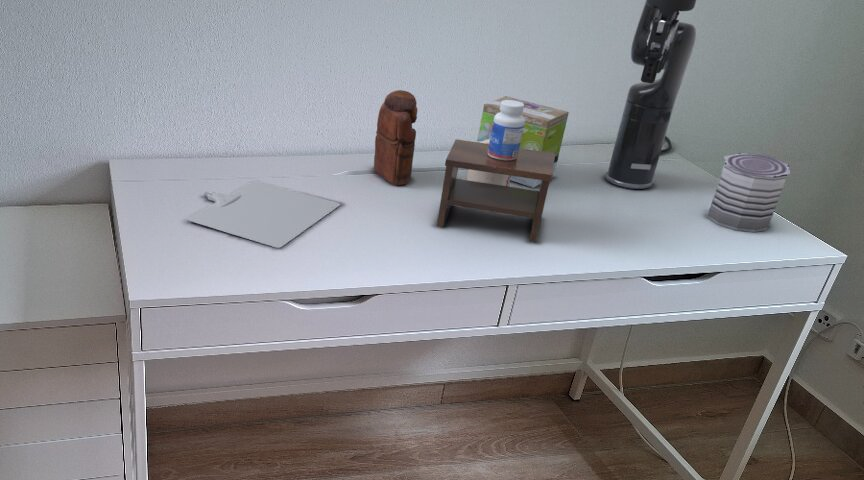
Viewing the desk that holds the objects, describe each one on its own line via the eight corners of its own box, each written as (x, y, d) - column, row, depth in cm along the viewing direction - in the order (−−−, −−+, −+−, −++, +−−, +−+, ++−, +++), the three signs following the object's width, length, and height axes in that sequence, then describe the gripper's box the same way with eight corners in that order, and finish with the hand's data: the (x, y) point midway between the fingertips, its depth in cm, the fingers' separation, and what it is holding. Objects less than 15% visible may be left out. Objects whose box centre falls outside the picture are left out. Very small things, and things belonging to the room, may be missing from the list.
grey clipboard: (238, 178, 178) (238, 173, 177) (341, 207, 169) (341, 201, 168) (167, 217, 159) (167, 211, 158) (278, 251, 150) (279, 245, 149)
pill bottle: (483, 151, 159) (492, 98, 154) (511, 151, 160) (522, 98, 155) (492, 161, 154) (502, 106, 149) (521, 161, 155) (532, 107, 150)
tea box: (470, 170, 189) (482, 102, 181) (492, 160, 195) (504, 94, 188) (534, 189, 180) (549, 119, 173) (555, 177, 187) (570, 109, 180)
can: (782, 227, 168) (804, 168, 162) (743, 236, 164) (764, 175, 158) (732, 206, 177) (751, 149, 171) (693, 214, 172) (711, 155, 166)
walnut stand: (445, 203, 171) (455, 139, 165) (540, 218, 167) (555, 153, 160) (435, 226, 161) (445, 159, 154) (536, 243, 156) (552, 175, 150)
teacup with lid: (514, 199, 175) (526, 143, 169) (471, 199, 174) (481, 142, 168) (494, 178, 185) (504, 124, 179) (453, 178, 184) (462, 124, 178)
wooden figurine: (419, 184, 180) (431, 97, 170) (392, 187, 178) (403, 99, 168) (391, 165, 189) (402, 82, 180) (365, 168, 187) (375, 84, 178)
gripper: (658, -30, 149) (634, 66, 157) (647, -21, 138) (621, 82, 146) (705, -25, 146) (678, 72, 154) (697, -15, 135) (668, 89, 144)
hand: (650, 77), depth 150 cm, fingers open, 8 cm apart
